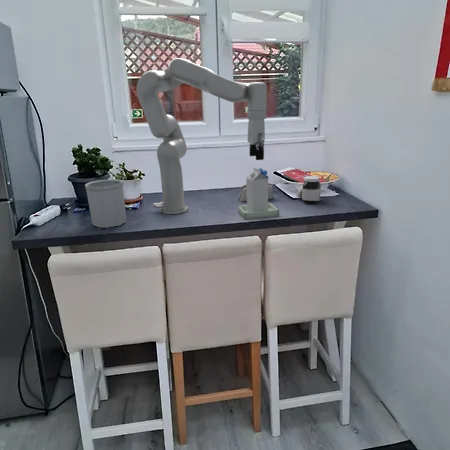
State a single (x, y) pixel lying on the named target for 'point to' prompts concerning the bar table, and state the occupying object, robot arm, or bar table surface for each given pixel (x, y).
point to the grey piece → (244, 192)
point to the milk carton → (257, 191)
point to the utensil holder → (106, 202)
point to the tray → (249, 215)
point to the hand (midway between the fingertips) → (256, 157)
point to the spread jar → (310, 190)
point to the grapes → (264, 172)
